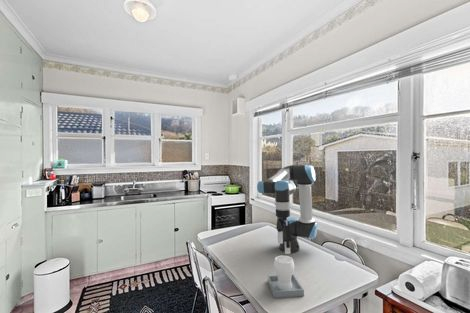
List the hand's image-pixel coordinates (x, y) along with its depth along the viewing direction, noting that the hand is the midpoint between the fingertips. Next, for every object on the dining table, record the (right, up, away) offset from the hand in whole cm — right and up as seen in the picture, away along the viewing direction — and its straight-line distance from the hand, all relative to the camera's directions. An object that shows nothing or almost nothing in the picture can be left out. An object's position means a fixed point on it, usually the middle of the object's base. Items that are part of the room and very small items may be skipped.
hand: (283, 248), depth 123 cm
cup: (0, -21, 0) cm, 21 cm away
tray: (0, -22, 0) cm, 22 cm away
